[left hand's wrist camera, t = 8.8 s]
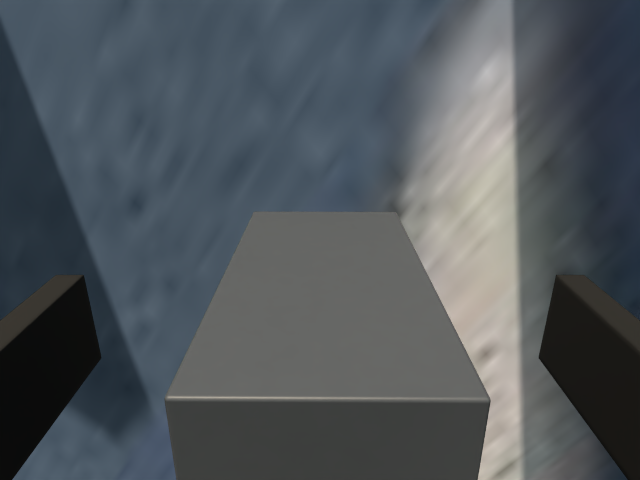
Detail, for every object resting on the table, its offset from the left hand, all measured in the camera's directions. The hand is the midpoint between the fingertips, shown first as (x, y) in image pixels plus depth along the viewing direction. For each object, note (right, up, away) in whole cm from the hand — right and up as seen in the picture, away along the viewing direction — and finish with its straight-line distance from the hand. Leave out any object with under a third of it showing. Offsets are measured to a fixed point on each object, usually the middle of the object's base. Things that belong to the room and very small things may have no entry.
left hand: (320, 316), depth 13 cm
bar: (0, -7, +6) cm, 9 cm away
